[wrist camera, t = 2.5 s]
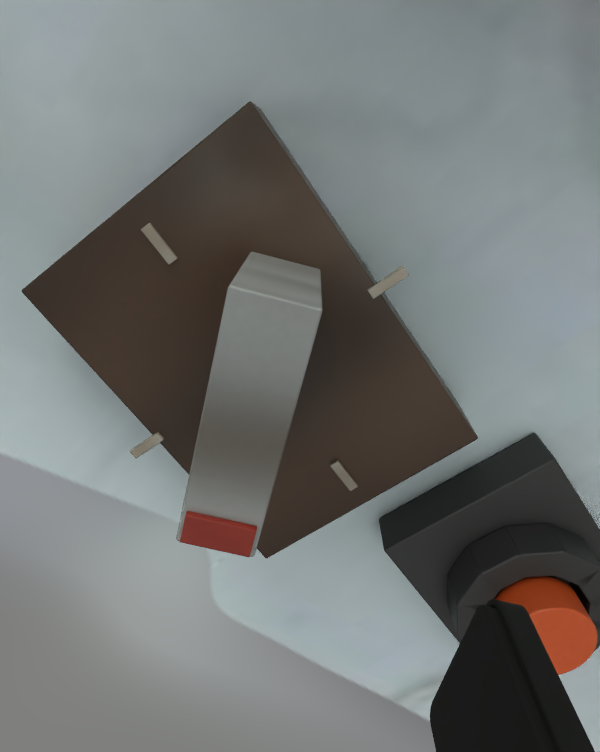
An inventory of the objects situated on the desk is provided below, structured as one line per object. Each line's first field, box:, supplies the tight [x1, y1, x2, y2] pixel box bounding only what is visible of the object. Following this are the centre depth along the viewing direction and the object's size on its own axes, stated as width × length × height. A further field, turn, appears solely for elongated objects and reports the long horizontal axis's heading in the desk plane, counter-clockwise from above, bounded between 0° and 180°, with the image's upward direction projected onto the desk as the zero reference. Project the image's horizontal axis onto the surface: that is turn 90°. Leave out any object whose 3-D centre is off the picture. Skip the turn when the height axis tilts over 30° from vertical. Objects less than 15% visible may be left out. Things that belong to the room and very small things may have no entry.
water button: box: [495, 576, 598, 675], centre depth 22 cm, size 4×4×2 cm
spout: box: [176, 252, 322, 557], centre depth 17 cm, size 8×2×5 cm, turn 166°
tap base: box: [22, 101, 478, 558], centre depth 21 cm, size 14×12×3 cm
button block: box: [379, 433, 600, 651], centre depth 24 cm, size 10×8×4 cm
